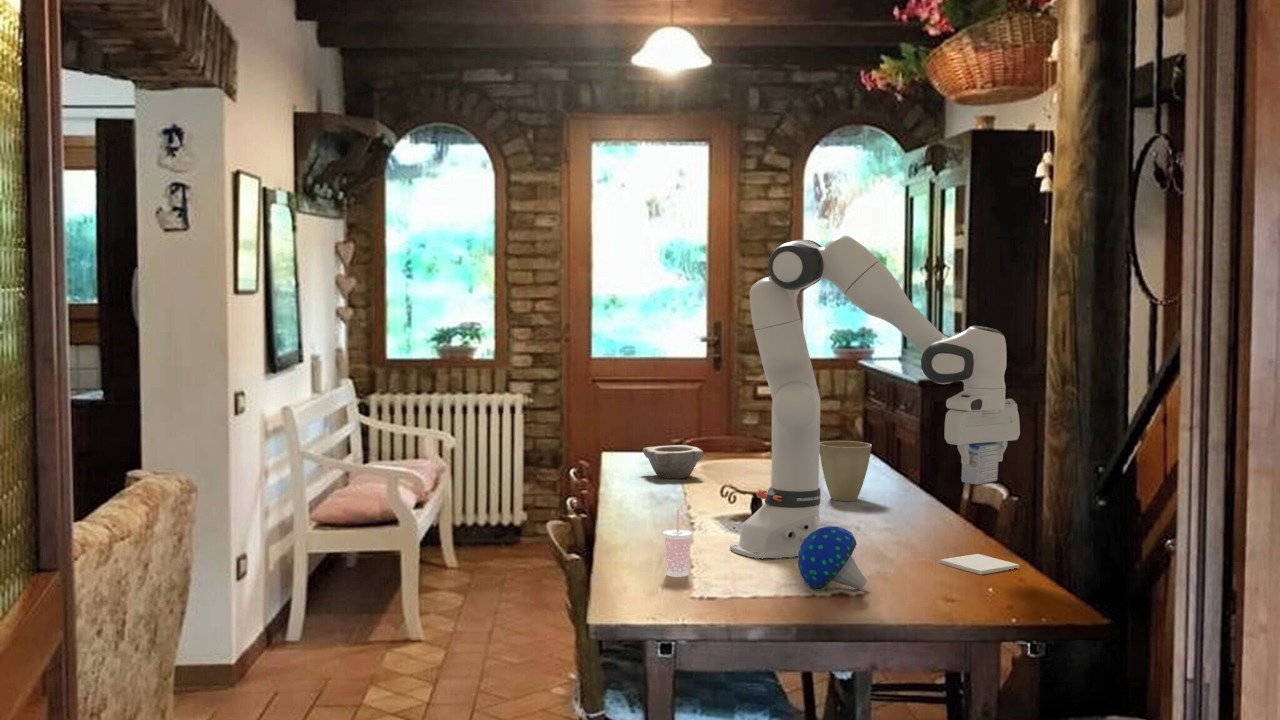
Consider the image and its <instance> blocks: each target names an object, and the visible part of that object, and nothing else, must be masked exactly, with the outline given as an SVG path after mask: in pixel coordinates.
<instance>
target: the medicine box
mask: <svg viewBox="0 0 1280 720" xmlns="http://www.w3.org/2000/svg"><path fill="white" fill-rule="evenodd" d="M967 450H968V453H969V456H972V460H971V461H972V463H971V464H968V465H965V464H962V463H961V480H960V481H961V482H962V483H966V484H972V485H982V484H986V483H992V482H996V481H998V474H999V473H998V472H999V462H998V458H999V443H996V442H988V443H976V444H969V449H967Z"/></svg>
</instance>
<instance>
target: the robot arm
mask: <svg viewBox="0 0 1280 720" xmlns="http://www.w3.org/2000/svg"><path fill="white" fill-rule="evenodd" d="M768 258H769V259H768V263H767V270H768V274H769V276H767V277H764V278H761V279H759V280H757V282H755V283H754V284H752V286H751V287H750V290H749V307H750V308H749V309H750V314H751V315H750V317H751V322H752V327H753V331H754V337H755V339H756V343H757V347H758V353H759V357H760V360H761V364H762V368H763V371H764V374H765V379H766V382H767V385H768V388H769V392H770V395H771V399H772V403H771V472H770V473H771V478H770V479H771V481H770V483H771V485H770V486H769V488H768V491H766V490H763V489H758V490H757V491H756V493H755V494H756V497H757V498H759V499H762V500H764V504H763V505H761V506H760V508H758V509H757V510H756V511H755V512H754V513H753V514H752V515H751V516H750V517H749V518H747V519H746V520H745V521H744V522H743V524H742V526H741V530H740V535H739V542H733V543H730V544H729V545H730V546H729V550H731V551H732V552H734V553H736V554H738V555H742V556H745V557H749V558H753V557H754V559H759V558H762V559H761V560H764V559H763V558H776V559H781V558H780V557H789V558H794V557H793V556H798V553H799V550H800V546H801V545H802V543H803V542H804V540H805V539H806V538H807V536H808V535H809V534H811V533H812V532H814V531H816V530H818V529H820V528H821V522H820V504H821V488H820V485H819V484H820V442H821V441H820V439H821V438H820V437H821V434H820V433H821V396H820V392H819V388H818V384H817V381H816V377H815V373H814V369H813V365H812V360H811V358H810V357H811V356H810V353H809V348H808V345H807V341H806V337H805V332H804V328H803V324H802V319H801V316H800V315H801V314H800V311H799V307H798V296H799V293H802V292H804V291H805V290H807V289H808V288H809V287H811V286H814V285H816V284H817V283H819V281H821V280H826V281H828V282H830V283H831V284H832V285H834V286H835V287H836V288H837V289H838V290H839V291H840V293H842V294H843V295H844V296H845V298H846V299H848V301H849V302H851V303H852V304H853V305H854V306H855V307H856V308H858V309H859V310H861V311H862V312H864V313H865V314H867V315H869V316H872V317H875V318H878V319H880V320H883V321H885V322H887V323H889V324H890V325H892V326H893V327H895V328H896V329H897V330H898V331H899V332H900V333H901V334H902V335H903V336H904V337H905V338H907V340H908V341H909V342H910V343H911V344H913V346H914V347H915V348H917V350H918V351H919V352H920V353H921V355H922V356H921V358H920V366H921V370H922V372H923V374H924V375H925V377H926V378H927V379H928V380H929V381H932V382H933V383H936V384H938V385H939V384H940V385H946V384H947V385H948V384H952V383H955V382H956V383H957V382H962V383H963V390H961V391H960V392H958V393H957V394H955V395H953V396H951V397H949V398H947V399H946V401H945V406H946V408H947V409H949V410H948V411H946V414H945V419H944V440H945V442H946V443H947V444H950V445H953V446H954V445H956V446H957V450H958V452H959V455H960V456H961V458H960V463H961V465H962V464H965V465H968V464H971V463H972V461H971V460H972V456H969V453H968V450H967V449H969V444H976V443H988V442H995V443H999V458H998V463H999V462H1003V460H1004V459H1003V458H1004V454H1005V452H1006V449H1007V447H1008V441H1009V442H1010V441H1017V440H1018V439H1019V437H1020V435H1021V429H1020V428H1021V425H1020V423H1021V422H1020V415H1019V411H1018V404H1017V403H1016V401H1015V400H1014V399H1013V398H1006V382H1005V374H1006V369H1007V343H1006V341H1007V340H1006V338H1005V335H1004V334H1003V333H1002V332H1001V331H999V330H998V329H995V328H991V327H988V326H981V325H971V326H969V327H968V328H966V329H965V330H964V331H962V332H960V333H958V334H956V335H955V334H954V335H952V336H949V335H947V334H945V333H944V332H941V331H940V330H939V329H938V328H937V327H936V326H935V325H934V324H933V323H932V322H931V321H930V320H929V319H928V318H927V317H926V316H925V315H924V314H923V313H921V311H919V309H918V308H917V307H916V306H915V305H913V302H911V300H910V299H909V297H908V296H907V294H906V293H905V291H904V290H903V288H902V286H901V285H900V284H899V282H898V281H897V280H896V277H895V276H894V275H893V273H891V271H890V270H889V269H888V267H886V265H885V264H884V263H883V262H882V261H881V260H880V259H879V258H878V257H877V256H876V255H875V254H873V252H872V251H870V250H869V249H868V248H867V247H866V246H864V245H863V244H862V243H860V242H859V241H857V240H856V239H854V238H852V236H848V235H838V236H837V237H836V236H835V237H834V238H833V239H830V240H829V241H828V242H827V243H826V244H825V245H823V246H822V245H821V244H819V243H817V242H816V241H813V240H810V239H794V240H791V241H788V242H785V243H783V244H781V245H779V246H777V247H776V248H775V249H774V250H773V251H772V253H771V254H770V257H768Z"/></svg>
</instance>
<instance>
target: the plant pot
mask: <svg viewBox="0 0 1280 720" xmlns="http://www.w3.org/2000/svg"><path fill="white" fill-rule="evenodd" d="M872 447H873V445H872V444H871V443H868V442H864V441H863V442H862V441H850V440H829V441H820V449H819V458H820V462H821V464H820V465H821V467H822V472H823V477H824V482H825V484H826V488H827V490H828V494H829V497H830V500H833V501H837V500H838V502H839V501H840V502H855V501H857V500H858V498H859V495H860V493H861V490H862V488H863V485H864V482H865V478H866V475H867V473H868V472H867V471H868V468H869V463H870V458H871V452H872Z"/></svg>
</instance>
